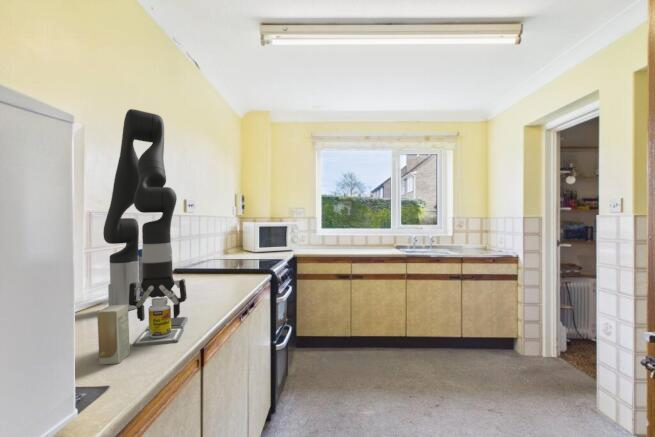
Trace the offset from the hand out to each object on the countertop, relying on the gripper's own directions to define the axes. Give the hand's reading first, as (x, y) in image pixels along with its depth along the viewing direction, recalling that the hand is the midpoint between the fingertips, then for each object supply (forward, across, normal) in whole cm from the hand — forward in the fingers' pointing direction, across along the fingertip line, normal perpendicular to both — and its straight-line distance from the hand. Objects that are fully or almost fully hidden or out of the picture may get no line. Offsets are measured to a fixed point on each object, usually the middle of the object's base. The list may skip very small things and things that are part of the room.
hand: (159, 318), depth 101 cm
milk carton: (+6, +16, -66) cm, 68 cm away
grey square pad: (+5, 0, 0) cm, 5 cm away
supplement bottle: (+5, 0, 0) cm, 5 cm away
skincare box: (+6, +7, +14) cm, 16 cm away
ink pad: (+5, 0, -12) cm, 13 cm away
